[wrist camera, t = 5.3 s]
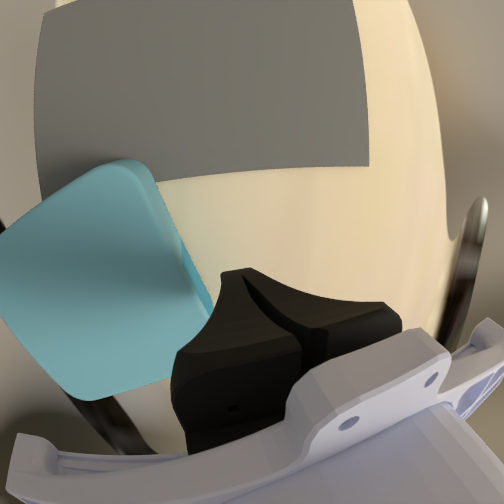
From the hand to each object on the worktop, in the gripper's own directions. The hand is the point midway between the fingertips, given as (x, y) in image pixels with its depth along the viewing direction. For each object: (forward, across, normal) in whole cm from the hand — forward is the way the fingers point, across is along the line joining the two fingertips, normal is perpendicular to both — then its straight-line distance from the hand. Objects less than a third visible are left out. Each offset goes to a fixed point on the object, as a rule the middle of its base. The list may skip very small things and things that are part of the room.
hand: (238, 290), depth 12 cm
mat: (+6, 0, -12) cm, 13 cm away
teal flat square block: (+3, +2, -1) cm, 4 cm away
